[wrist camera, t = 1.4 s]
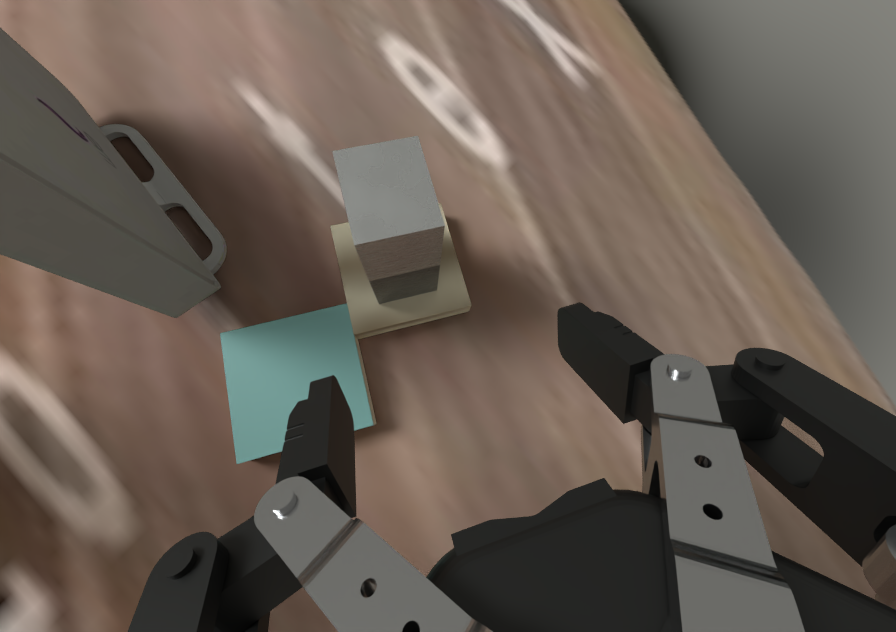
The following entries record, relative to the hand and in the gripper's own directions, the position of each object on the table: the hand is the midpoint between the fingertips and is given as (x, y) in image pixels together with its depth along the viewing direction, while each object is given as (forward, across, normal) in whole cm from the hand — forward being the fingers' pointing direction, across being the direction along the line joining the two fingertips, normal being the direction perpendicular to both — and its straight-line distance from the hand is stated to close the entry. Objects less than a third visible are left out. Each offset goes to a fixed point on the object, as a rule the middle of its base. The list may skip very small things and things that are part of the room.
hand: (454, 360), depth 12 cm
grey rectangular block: (+19, 0, +3) cm, 20 cm away
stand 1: (+16, +10, +10) cm, 21 cm away
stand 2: (+21, 0, +5) cm, 21 cm away
